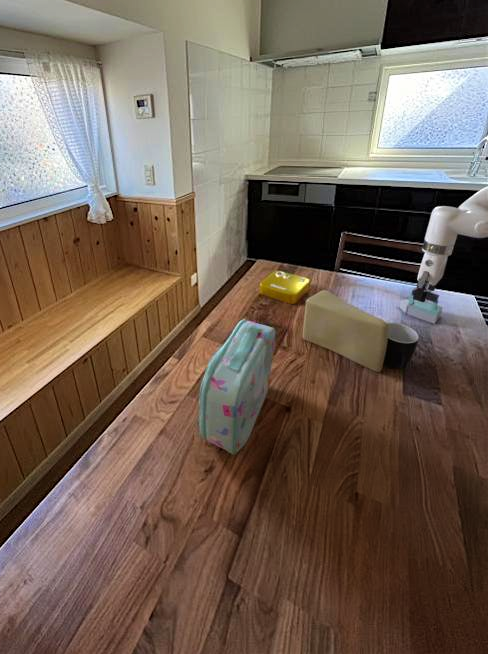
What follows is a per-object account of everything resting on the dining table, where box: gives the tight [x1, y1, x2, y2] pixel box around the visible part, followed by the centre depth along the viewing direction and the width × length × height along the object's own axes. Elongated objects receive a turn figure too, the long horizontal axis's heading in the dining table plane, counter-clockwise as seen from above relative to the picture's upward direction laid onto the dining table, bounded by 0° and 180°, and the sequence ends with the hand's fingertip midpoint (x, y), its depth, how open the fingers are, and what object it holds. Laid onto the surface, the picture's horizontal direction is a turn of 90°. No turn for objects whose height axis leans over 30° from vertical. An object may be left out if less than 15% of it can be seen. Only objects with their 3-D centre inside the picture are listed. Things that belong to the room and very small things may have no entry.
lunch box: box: [198, 318, 276, 455], centre depth 78 cm, size 27×10×21 cm, turn 152°
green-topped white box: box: [399, 287, 443, 324], centre depth 112 cm, size 11×6×8 cm, turn 42°
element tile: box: [259, 270, 310, 305], centre depth 130 cm, size 15×15×5 cm
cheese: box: [302, 289, 389, 373], centre depth 96 cm, size 22×10×15 cm, turn 35°
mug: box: [383, 322, 420, 371], centre depth 90 cm, size 12×9×10 cm
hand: (423, 294), depth 110 cm, fingers open, 9 cm apart
